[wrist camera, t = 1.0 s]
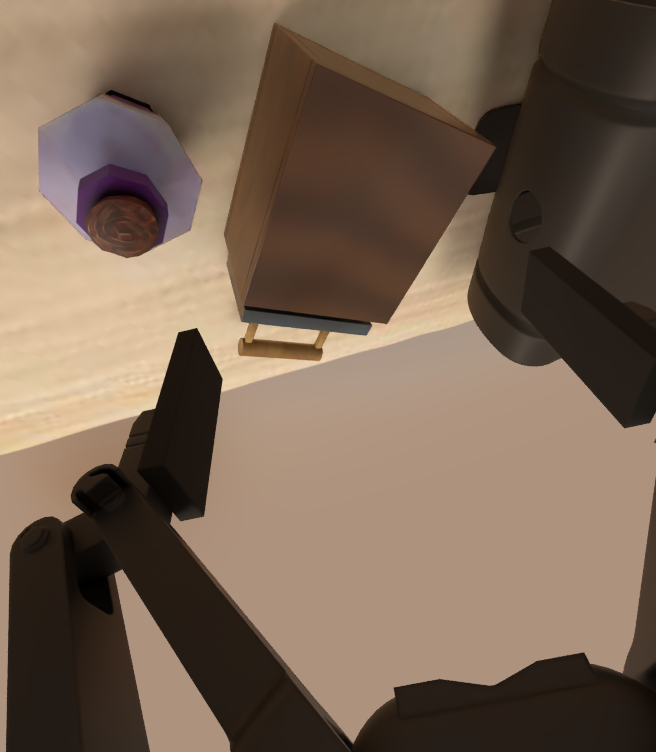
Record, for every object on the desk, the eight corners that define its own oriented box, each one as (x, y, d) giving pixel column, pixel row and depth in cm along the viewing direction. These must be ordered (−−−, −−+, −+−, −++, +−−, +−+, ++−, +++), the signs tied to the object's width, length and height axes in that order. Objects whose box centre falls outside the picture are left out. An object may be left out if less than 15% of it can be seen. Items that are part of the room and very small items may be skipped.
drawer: (317, 328, 45) (339, 380, 40) (212, 316, 39) (224, 375, 34) (405, 144, 32) (453, 189, 27) (270, 90, 27) (300, 134, 22)
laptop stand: (496, -51, 26) (710, -16, 16) (787, -80, 29) (1100, -65, 20) (431, 278, 45) (510, 381, 36) (609, 236, 49) (723, 319, 40)
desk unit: (350, 260, 40) (387, 324, 34) (223, 234, 34) (242, 305, 28) (428, 97, 31) (497, 146, 25) (273, 22, 25) (317, 63, 19)
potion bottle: (80, 207, 29) (63, 313, 22) (19, 59, 23) (-34, 140, 16) (202, 198, 31) (223, 291, 24) (178, 60, 25) (197, 132, 18)
